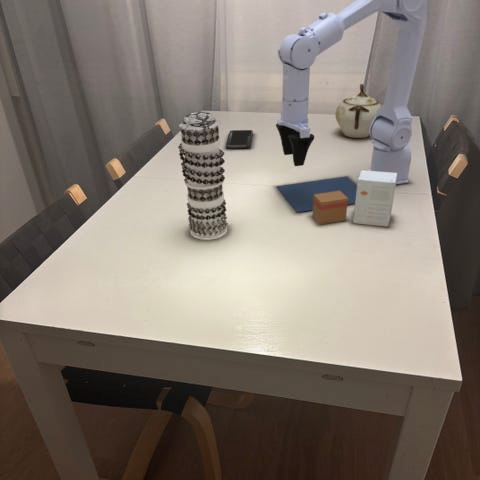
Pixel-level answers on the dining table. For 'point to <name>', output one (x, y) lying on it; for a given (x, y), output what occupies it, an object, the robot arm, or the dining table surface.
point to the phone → (239, 139)
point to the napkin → (316, 192)
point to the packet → (329, 207)
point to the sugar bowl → (357, 114)
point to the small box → (374, 198)
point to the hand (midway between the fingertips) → (293, 159)
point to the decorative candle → (203, 175)
